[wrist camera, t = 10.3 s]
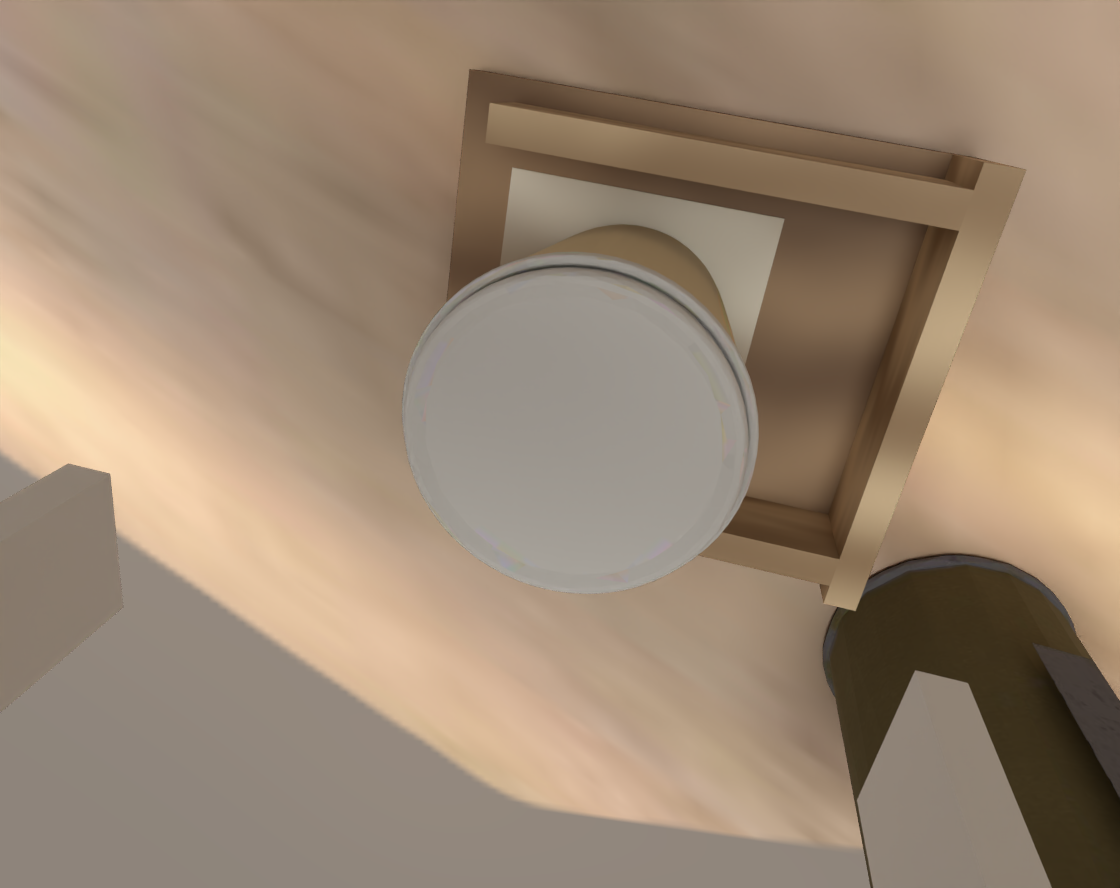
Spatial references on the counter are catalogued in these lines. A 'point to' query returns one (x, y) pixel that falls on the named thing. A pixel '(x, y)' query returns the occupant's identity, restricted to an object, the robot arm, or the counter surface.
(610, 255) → the coffee cup
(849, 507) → the dock
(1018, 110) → the counter surface
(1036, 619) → the canister
